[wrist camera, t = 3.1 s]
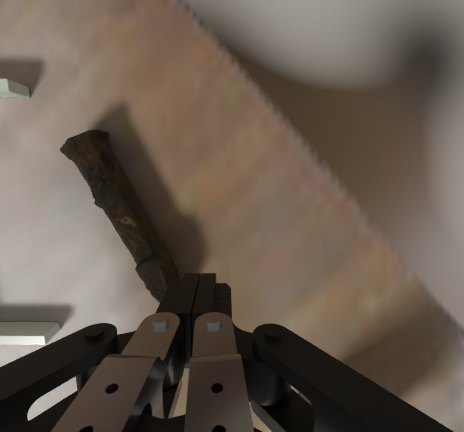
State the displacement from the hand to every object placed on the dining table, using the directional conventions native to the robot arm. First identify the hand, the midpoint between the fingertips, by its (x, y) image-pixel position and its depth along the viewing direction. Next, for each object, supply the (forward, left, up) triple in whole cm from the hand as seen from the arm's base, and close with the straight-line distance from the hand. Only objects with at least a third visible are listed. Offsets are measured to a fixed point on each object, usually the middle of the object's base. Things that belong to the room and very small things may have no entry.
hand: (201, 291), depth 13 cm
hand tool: (+8, 0, -16) cm, 18 cm away
